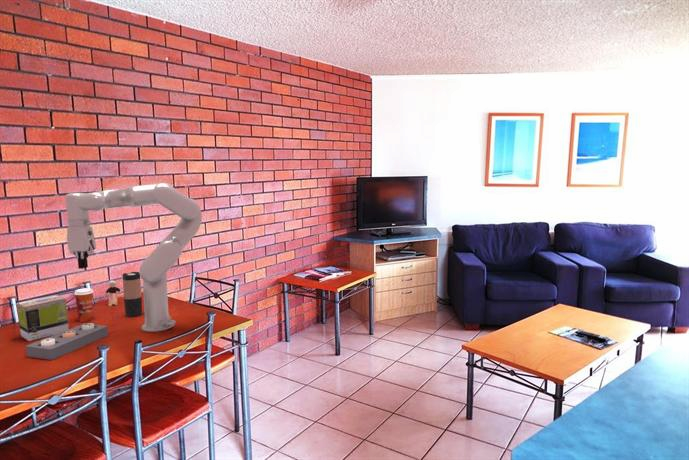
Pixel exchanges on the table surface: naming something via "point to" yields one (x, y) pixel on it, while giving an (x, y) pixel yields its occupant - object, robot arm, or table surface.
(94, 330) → the button panel
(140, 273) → the robot arm
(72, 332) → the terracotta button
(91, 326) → the sage button
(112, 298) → the grandmother figurine
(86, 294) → the paper cup
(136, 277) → the travel mug
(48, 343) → the white round knob
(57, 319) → the tea box
